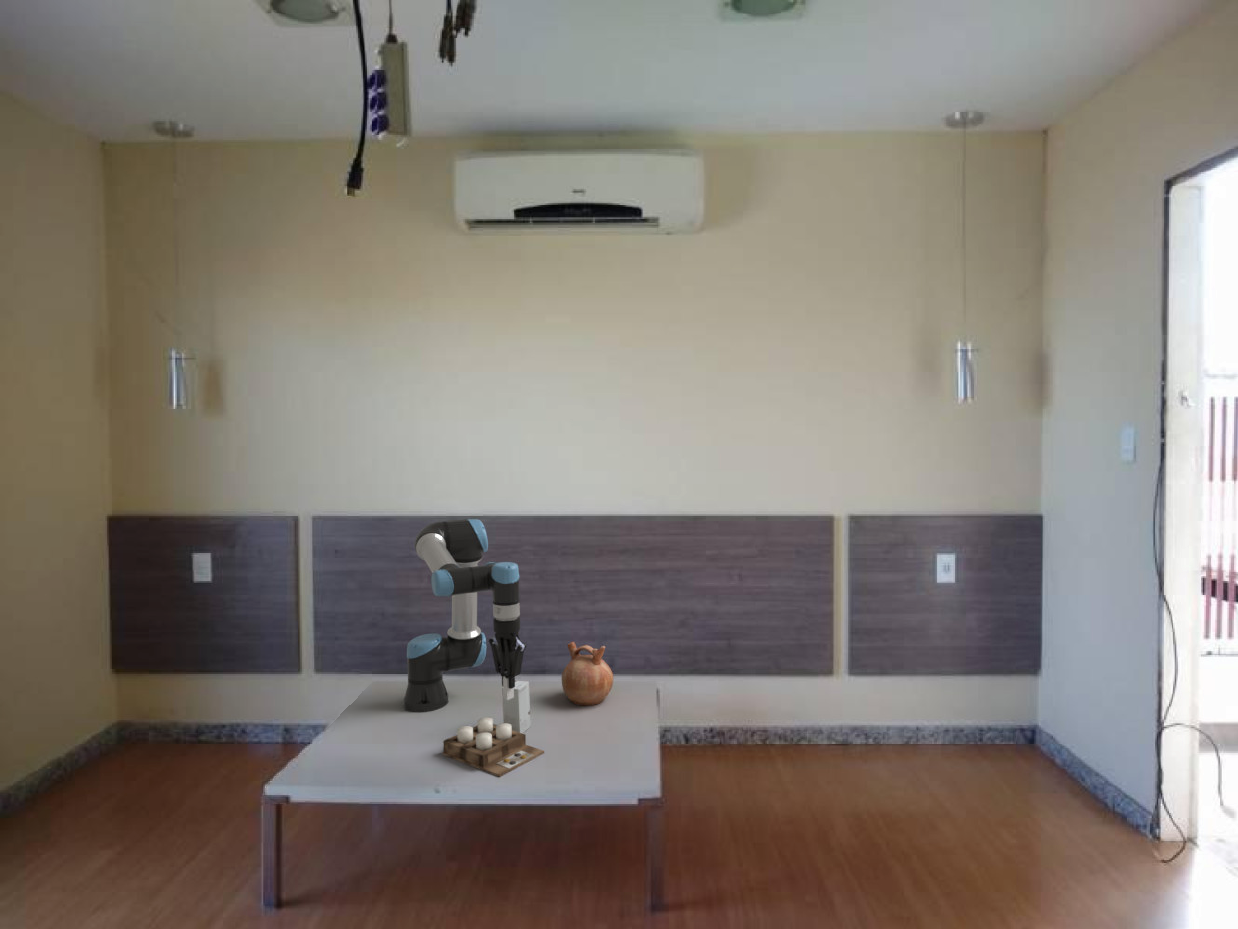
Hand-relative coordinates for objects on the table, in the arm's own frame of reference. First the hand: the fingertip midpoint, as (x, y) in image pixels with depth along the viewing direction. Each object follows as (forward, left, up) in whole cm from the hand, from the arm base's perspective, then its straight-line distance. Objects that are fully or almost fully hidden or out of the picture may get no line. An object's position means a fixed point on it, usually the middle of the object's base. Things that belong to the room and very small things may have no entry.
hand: (508, 698), depth 217 cm
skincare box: (-13, +16, -19) cm, 28 cm away
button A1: (-15, -4, -16) cm, 22 cm away
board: (-7, 0, -19) cm, 20 cm away
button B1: (-7, -4, -16) cm, 17 cm away
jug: (-11, +49, -19) cm, 54 cm away
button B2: (-7, +4, -16) cm, 17 cm away
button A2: (-15, +4, -16) cm, 22 cm away
